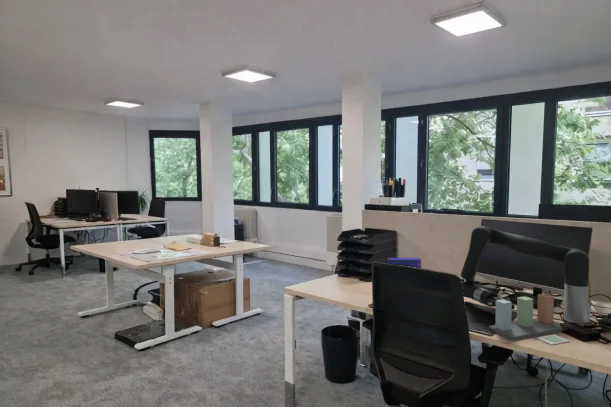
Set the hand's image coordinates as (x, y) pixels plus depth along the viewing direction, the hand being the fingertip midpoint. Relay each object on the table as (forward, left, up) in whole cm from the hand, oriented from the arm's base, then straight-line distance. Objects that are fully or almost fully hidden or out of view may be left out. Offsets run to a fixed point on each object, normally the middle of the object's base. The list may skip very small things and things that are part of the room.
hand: (513, 307), depth 183 cm
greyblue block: (+8, +11, -6) cm, 15 cm away
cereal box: (+45, -30, -8) cm, 55 cm away
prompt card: (-9, +19, -8) cm, 22 cm away
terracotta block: (-14, +1, -6) cm, 15 cm away
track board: (-4, +8, -8) cm, 11 cm away
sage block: (-3, +6, -6) cm, 9 cm away
